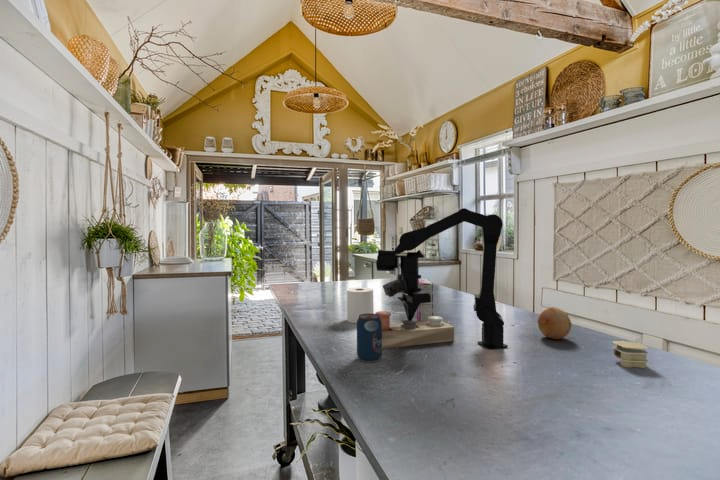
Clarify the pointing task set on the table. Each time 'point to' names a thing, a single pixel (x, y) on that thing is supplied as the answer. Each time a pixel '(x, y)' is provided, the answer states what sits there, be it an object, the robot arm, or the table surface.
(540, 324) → the onion
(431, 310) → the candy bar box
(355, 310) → the toilet paper
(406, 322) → the grey rounded piece
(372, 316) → the soda can
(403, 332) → the socket block
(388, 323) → the salmon plug
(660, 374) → the table surface
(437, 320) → the white plug
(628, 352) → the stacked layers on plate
